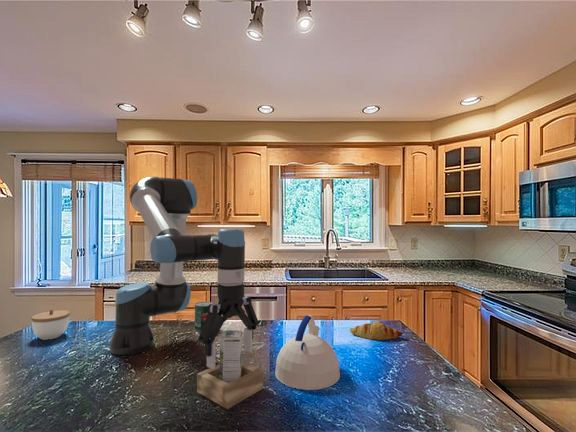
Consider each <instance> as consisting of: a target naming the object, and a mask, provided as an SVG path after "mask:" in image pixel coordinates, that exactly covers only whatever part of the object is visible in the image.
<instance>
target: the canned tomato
mask: <svg viewBox="0 0 576 432" xmlns="http://www.w3.org/2000/svg"><path fill="white" fill-rule="evenodd" d="M210 304H213V305H214V303H213V302H212V301H199V302H196V303H194V330H195V331H196V332H201V330H202V327H203V325H204V322H205V319H206V317H207V314H208V307H209V305H210Z"/></svg>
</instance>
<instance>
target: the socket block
mask: <svg viewBox="0 0 576 432" xmlns="http://www.w3.org/2000/svg"><path fill="white" fill-rule="evenodd" d="M219 368H220V363H219V364H217V365H216V364H215V369H211V368H209V367H208V368H207V369H204V370H203V371H199V372H198V373H197V374H196V393H198V394H199V395H201V396H203V397H205V398H207V399H208V400H210V401H211V402H214V403H216V404H217V405H219V406H220V407H222V408H224V409H227V410H229V409H230V408H232V407H234V406H236V405H238V404H239V403H241V402H242V401H244V400H246V399H247V398H249V397H251V396H253V395H254V394H256V393H258V392H259V391H261V390H264V370H263V369H260V368H258V367H255V366H252V365H250V364H248V363H246V362H243V361H242V364H241V378H239V379H237V380H235V381H233V382H231V383H229V384H228V383H226V382H224V381H222V380H220V379H219Z"/></svg>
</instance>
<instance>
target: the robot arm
mask: <svg viewBox="0 0 576 432" xmlns="http://www.w3.org/2000/svg"><path fill="white" fill-rule="evenodd" d="M129 201H130V204H131V206H132V208H133V209H134V210H135V211H137V212H139V214H140V217H141V219H142V220H143V223H144V224H145V226H146V228H147V230H148V232H149V234H150V236H151V238H152V239H151V241H150V246H149V251H150V252H149V253H150V258H151V260H152V261H153V262H154V263H157V264H160V266H159V267H160V269H159V276H158V277H157V278H156V279H155V281H154V282H155V284H153V285H151V284H150V282H148V281H147V282H145V281H143V282H136V283H130V284H126V285H124V286H121V287H120V288H118V289H117V290H116V293H115V302H114V304H115V319H114V320H115V325H114V326H115V328H114V331H113V334H112V337H111V340H110V343H109V353H111V354H113V355H117V356H128V355H135V354H136V355H137V354H140V353H143V352H146V351H148V350H150V349H152V348H154V345H155V337H154V334H153V331H152V327H151V323H150V320H151V319H150V318H151V317H155V316H161V315H166V314H172V313H174V314H175V313H177V312H180V311H181V312H182V311H184V310H185V309H186V308H187V307H188V306H189V304H190V301H191V296H192V293H191V286H190V284H189V283H188V282H187V279H186V278H185V277H184V276H183V274H184V272H183V271H184V262H193V261H195V262H196V261H209V260H217V278H216V279H217V283H218V284H217V298H218V303H217V304H214V303H213V304H210V305H209V307H208V314H207V317H206V319H205V322H204V325H203V327H202V330H201V331H200V333H199V336H198V338H197V342H199V343H201V344H203V345H204V356H205V357H206V367H207V368H208V369H209V368H211V369H215V366H216V343H215V340H216V338H217V336H218V334H219V332H220V330H221V329H222V327H223V325H224V323H225V322H226V321H227V320H228V319H230V318H232V317H238V318H239V320H240V321H241V322H242V323H243V324H244V326H245V327H244V329H243V330H244V331H243V351H244V352H246V353H253V339H254V330H255V331H256V329H257V326H258V325H259V324H260V322H259V319H258V317H257V314H256V312H255V309H254V307H253V304H252V297H251V296H248V295H245V283H244V282H245V262H246V261H245V258H246V255H245V254H246V241H245V240H246V238H245V231H244V230H243V229H242V228H220V229H219V230H218V234H215V233H212V234H211V233H208V234H196V235H192V234H190V235H189V234H186V226H187V218H188V217H189V216H190V215H191V211H192V210H194V209H196V207H197V204H198V192H197V189H196V186H195V184H194V183H193V182H192V181H191V180H189V179H183V178H172V177H161V176H160V177H158V176H147V177H143V178H142V179H140V180H138V181H137V182H136V183H134V185H133V186H132V187H131V189H130V192H129Z"/></svg>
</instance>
